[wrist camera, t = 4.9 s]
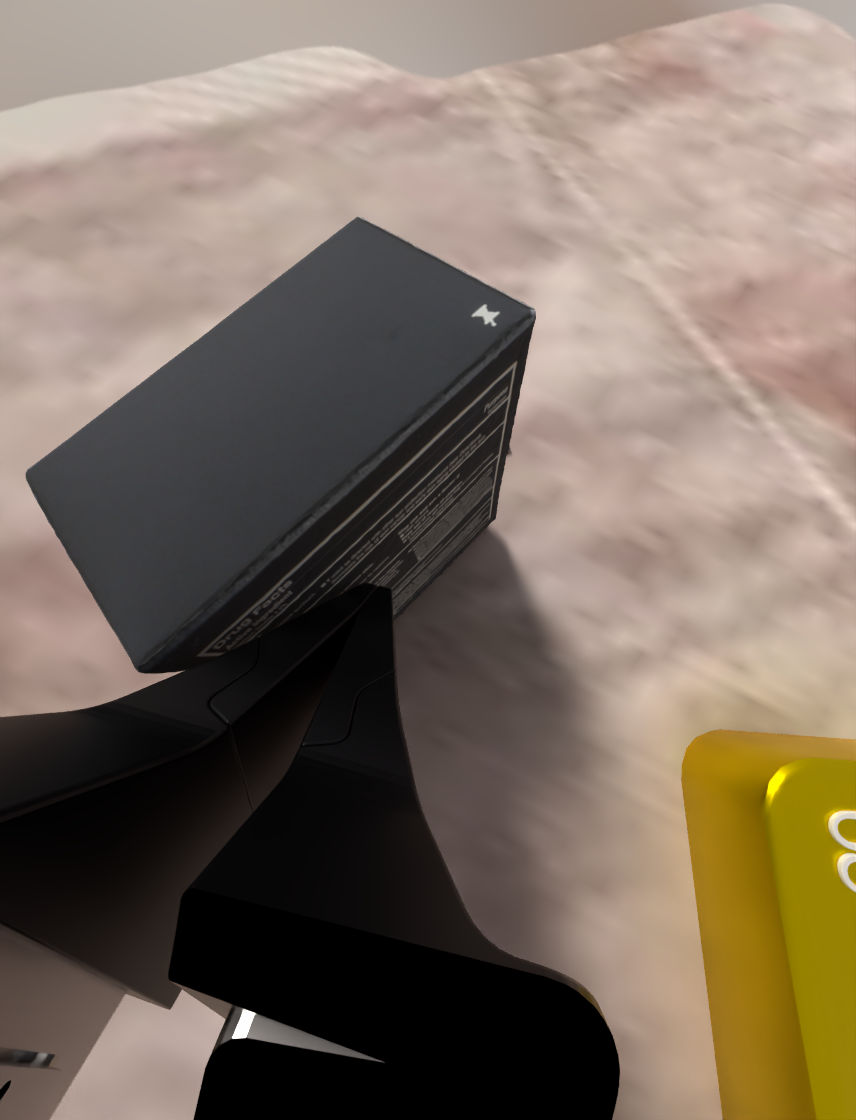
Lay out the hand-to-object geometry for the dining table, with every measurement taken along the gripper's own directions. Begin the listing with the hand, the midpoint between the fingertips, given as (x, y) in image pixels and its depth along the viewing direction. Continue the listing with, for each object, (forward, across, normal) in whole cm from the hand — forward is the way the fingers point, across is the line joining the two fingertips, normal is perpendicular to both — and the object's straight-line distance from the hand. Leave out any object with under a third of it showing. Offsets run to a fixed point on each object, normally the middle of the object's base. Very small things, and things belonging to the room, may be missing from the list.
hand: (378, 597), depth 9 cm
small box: (+7, +2, +3) cm, 8 cm away
